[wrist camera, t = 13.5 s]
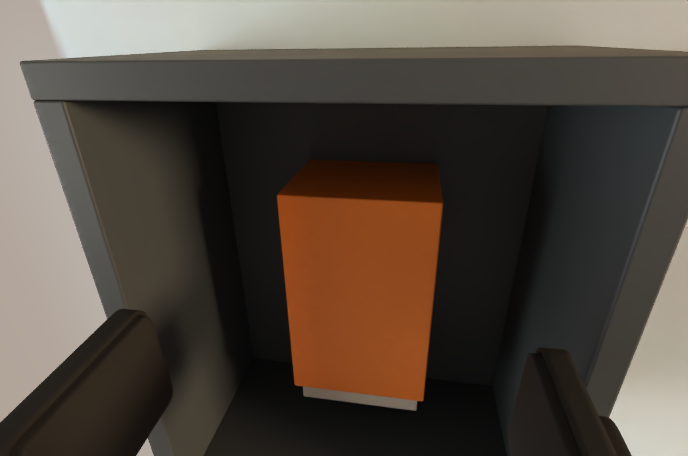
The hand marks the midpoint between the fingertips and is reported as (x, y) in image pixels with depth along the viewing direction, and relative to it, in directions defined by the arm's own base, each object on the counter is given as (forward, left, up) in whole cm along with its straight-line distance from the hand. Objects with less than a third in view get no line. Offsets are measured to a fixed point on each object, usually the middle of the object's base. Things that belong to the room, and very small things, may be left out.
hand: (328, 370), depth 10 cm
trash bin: (+1, 0, -8) cm, 8 cm away
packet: (+1, 0, -8) cm, 8 cm away
